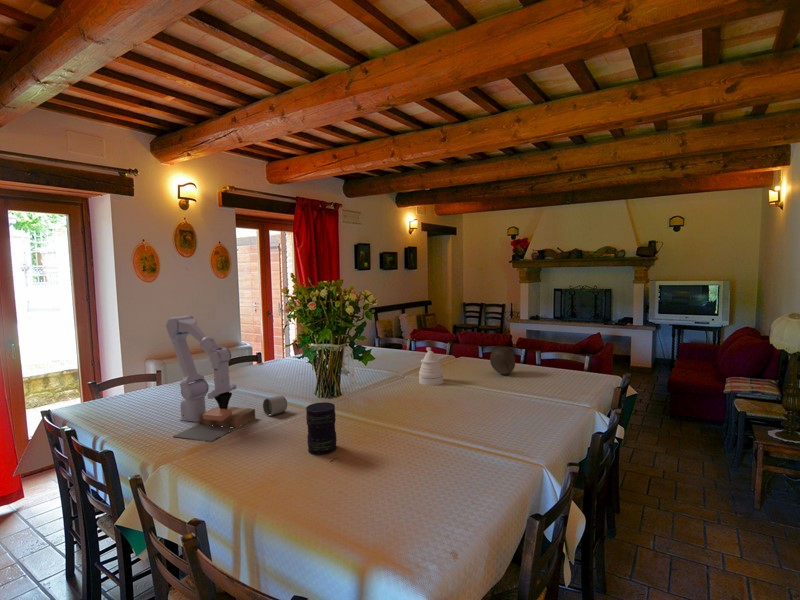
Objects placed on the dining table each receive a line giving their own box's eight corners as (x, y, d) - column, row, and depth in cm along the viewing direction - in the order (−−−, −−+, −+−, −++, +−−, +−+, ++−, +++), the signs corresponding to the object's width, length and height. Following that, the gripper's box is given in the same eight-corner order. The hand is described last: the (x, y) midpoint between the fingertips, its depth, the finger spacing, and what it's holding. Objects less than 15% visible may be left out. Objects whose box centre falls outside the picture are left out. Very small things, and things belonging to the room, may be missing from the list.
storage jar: (324, 441, 157) (322, 400, 156) (343, 447, 151) (341, 405, 149) (301, 450, 149) (299, 408, 148) (320, 458, 143) (318, 413, 142)
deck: (199, 424, 178) (198, 415, 177) (220, 414, 189) (219, 405, 189) (236, 428, 172) (235, 418, 172) (255, 418, 183) (254, 408, 183)
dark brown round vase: (519, 372, 246) (518, 346, 245) (511, 378, 234) (510, 350, 233) (494, 370, 253) (494, 344, 252) (486, 375, 242) (485, 348, 240)
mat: (172, 437, 165) (172, 436, 165) (198, 425, 177) (198, 424, 177) (211, 441, 159) (211, 440, 159) (235, 429, 172) (235, 428, 172)
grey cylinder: (289, 412, 189) (288, 395, 189) (272, 417, 183) (271, 399, 183) (275, 408, 196) (274, 391, 196) (258, 413, 190) (257, 396, 190)
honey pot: (414, 380, 235) (414, 347, 234) (435, 377, 241) (434, 345, 239) (426, 386, 224) (425, 351, 222) (447, 383, 229) (447, 349, 228)
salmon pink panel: (203, 419, 173) (202, 414, 173) (213, 412, 179) (213, 407, 179) (221, 420, 171) (221, 416, 170) (232, 414, 176) (231, 409, 176)
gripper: (217, 383, 169) (219, 417, 170) (241, 374, 183) (243, 406, 184) (202, 382, 171) (204, 416, 172) (227, 373, 185) (229, 405, 186)
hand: (223, 411), depth 178 cm, fingers closed
